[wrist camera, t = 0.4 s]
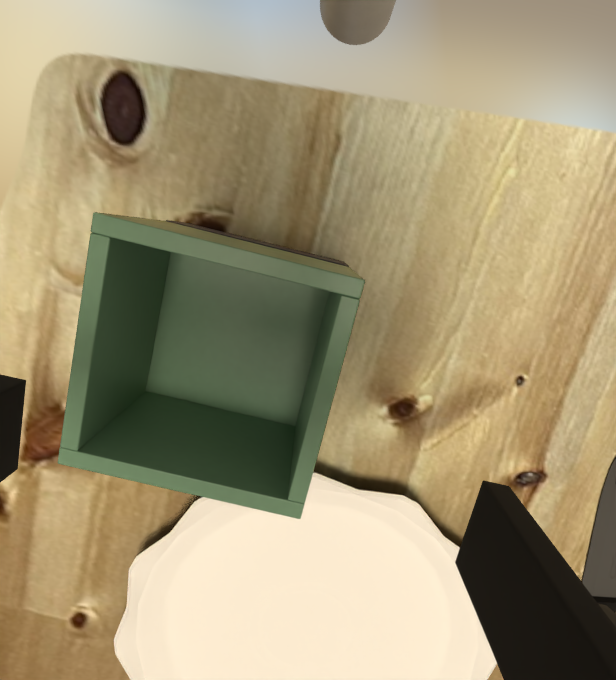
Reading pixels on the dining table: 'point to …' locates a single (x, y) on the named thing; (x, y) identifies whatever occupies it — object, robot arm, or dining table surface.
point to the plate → (302, 595)
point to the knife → (604, 548)
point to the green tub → (205, 362)
